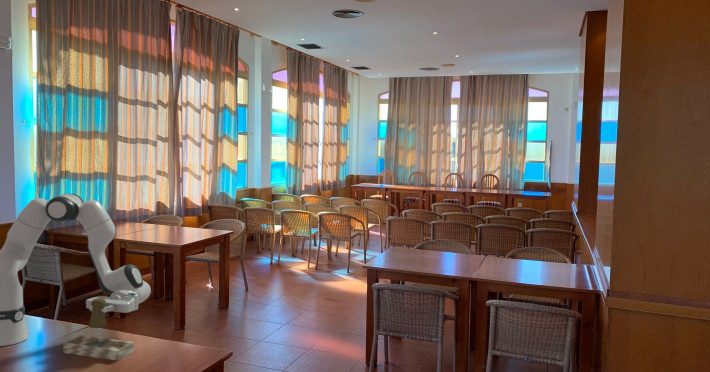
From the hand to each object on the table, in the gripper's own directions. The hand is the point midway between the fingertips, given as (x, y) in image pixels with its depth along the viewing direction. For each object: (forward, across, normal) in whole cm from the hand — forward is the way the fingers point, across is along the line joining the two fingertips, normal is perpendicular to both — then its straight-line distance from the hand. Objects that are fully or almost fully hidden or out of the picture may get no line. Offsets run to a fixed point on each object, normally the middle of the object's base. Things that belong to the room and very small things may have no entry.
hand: (96, 309), depth 203 cm
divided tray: (-1, 0, +18) cm, 18 cm away
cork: (0, 0, +7) cm, 7 cm away
